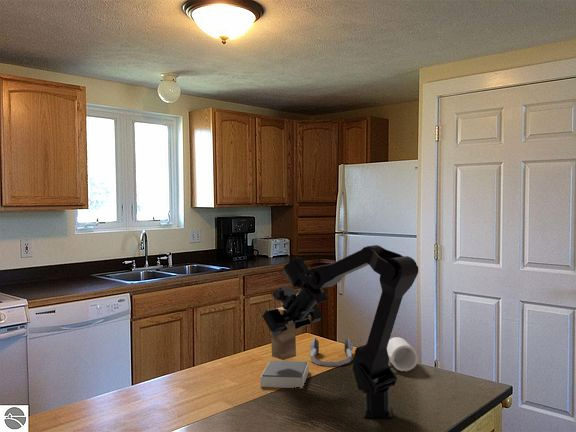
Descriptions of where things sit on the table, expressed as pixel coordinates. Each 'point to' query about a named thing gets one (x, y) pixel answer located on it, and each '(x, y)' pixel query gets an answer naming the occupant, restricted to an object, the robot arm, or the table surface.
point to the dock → (284, 374)
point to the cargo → (281, 310)
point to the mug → (401, 354)
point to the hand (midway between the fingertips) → (280, 333)
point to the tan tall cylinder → (284, 343)
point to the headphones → (315, 350)
